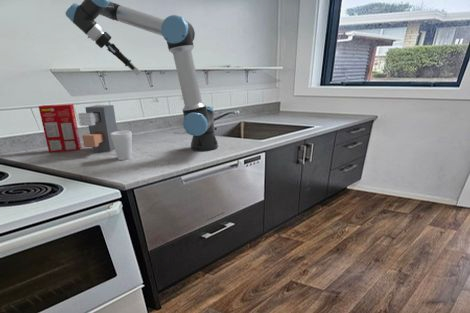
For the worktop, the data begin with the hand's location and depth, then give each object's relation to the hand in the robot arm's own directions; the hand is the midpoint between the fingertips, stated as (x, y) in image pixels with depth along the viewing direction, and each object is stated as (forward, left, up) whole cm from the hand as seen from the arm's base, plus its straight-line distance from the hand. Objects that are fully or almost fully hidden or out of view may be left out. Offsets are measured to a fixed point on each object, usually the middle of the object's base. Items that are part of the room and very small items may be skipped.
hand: (138, 73), depth 142 cm
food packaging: (+16, +42, -41) cm, 61 cm away
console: (+7, +21, -41) cm, 46 cm away
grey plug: (0, +25, -25) cm, 35 cm away
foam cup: (-17, +13, -41) cm, 46 cm away
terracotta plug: (0, +25, -36) cm, 44 cm away
